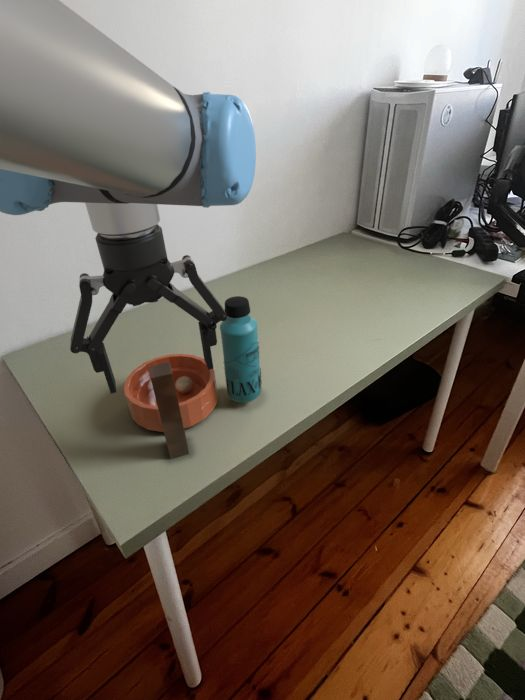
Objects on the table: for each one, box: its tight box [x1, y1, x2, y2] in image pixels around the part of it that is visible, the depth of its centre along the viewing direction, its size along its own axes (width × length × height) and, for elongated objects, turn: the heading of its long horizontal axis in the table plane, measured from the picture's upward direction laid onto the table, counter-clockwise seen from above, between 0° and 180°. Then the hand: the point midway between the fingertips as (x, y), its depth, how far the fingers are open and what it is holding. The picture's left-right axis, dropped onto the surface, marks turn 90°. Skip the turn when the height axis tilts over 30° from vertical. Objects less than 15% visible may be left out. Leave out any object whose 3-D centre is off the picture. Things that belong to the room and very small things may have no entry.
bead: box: [175, 376, 193, 394], centre depth 79 cm, size 3×3×3 cm
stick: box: [148, 362, 190, 460], centre depth 65 cm, size 3×3×16 cm
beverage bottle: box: [219, 295, 263, 403], centre depth 74 cm, size 6×7×20 cm
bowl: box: [123, 353, 219, 433], centre depth 77 cm, size 16×16×6 cm
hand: (162, 375), depth 61 cm, fingers open, 13 cm apart
